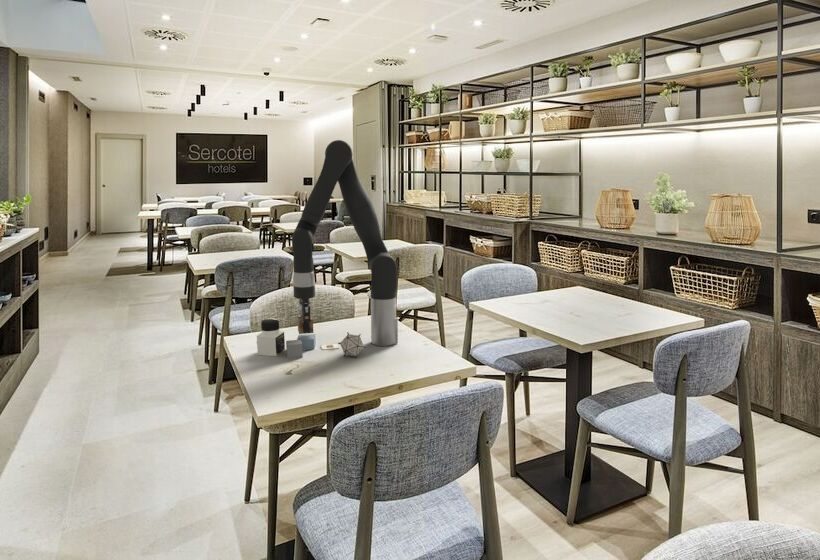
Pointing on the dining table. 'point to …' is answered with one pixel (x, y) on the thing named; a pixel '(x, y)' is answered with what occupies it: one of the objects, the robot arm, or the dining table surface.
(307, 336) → the base block
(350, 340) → the grey icosahedron
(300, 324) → the walnut block
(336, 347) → the card
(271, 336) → the medicine bottle
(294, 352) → the gray block
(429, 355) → the dining table surface
